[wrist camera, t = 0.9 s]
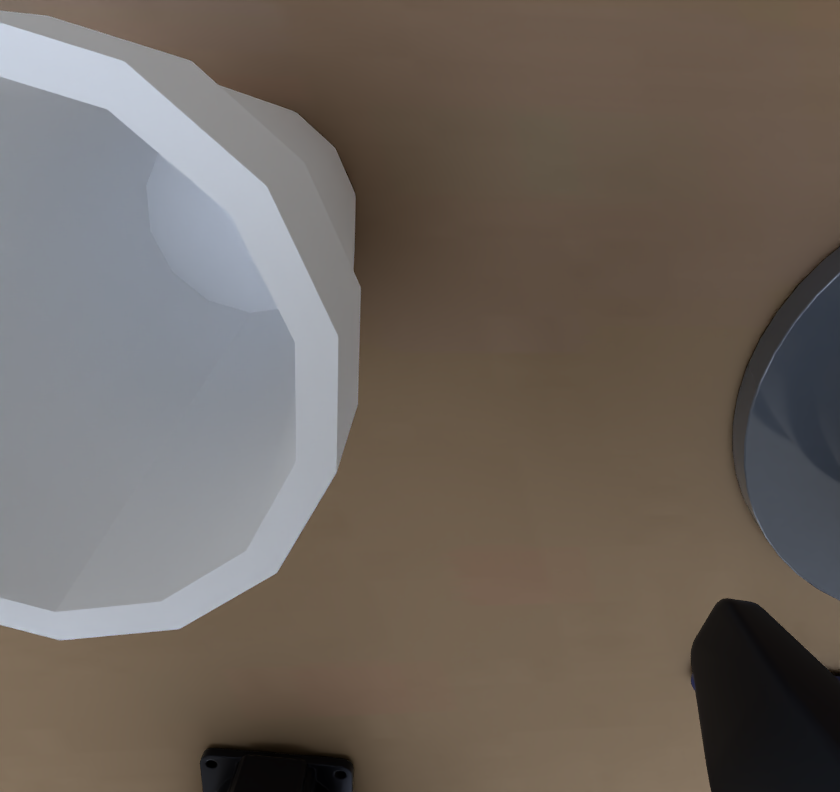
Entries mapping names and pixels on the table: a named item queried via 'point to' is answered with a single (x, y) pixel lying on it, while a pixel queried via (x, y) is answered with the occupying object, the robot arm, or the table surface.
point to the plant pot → (796, 430)
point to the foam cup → (160, 333)
